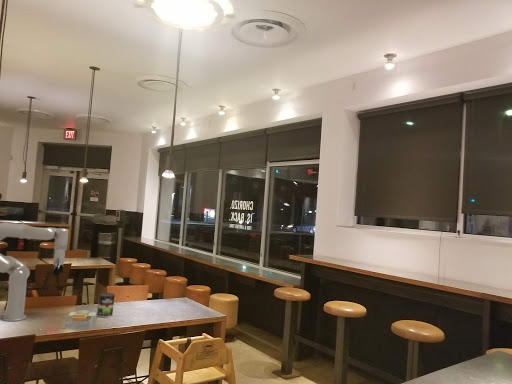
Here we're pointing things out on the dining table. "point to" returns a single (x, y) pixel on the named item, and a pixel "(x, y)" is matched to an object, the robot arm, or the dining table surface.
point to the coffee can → (105, 305)
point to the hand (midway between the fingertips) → (58, 273)
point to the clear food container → (84, 313)
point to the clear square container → (79, 323)
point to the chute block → (79, 317)
